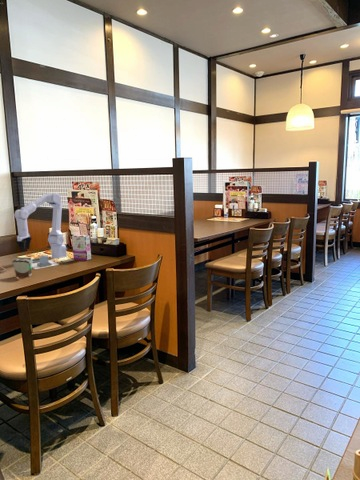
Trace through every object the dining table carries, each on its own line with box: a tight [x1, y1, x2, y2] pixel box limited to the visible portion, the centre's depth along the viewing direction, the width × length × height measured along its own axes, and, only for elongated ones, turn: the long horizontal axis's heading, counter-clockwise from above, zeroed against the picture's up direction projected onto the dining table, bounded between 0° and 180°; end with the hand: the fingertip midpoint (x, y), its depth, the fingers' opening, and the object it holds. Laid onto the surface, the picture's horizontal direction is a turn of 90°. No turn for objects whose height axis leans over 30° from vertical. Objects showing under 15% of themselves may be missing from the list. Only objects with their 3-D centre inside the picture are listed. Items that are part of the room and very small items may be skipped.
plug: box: [38, 254, 49, 265], centre depth 219 cm, size 4×4×7 cm
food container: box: [12, 256, 33, 278], centre depth 200 cm, size 12×6×10 cm, turn 71°
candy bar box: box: [71, 234, 92, 261], centre depth 233 cm, size 11×5×16 cm, turn 68°
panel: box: [31, 257, 60, 270], centre depth 225 cm, size 15×24×2 cm, turn 41°
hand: (25, 250), depth 221 cm, fingers open, 7 cm apart
